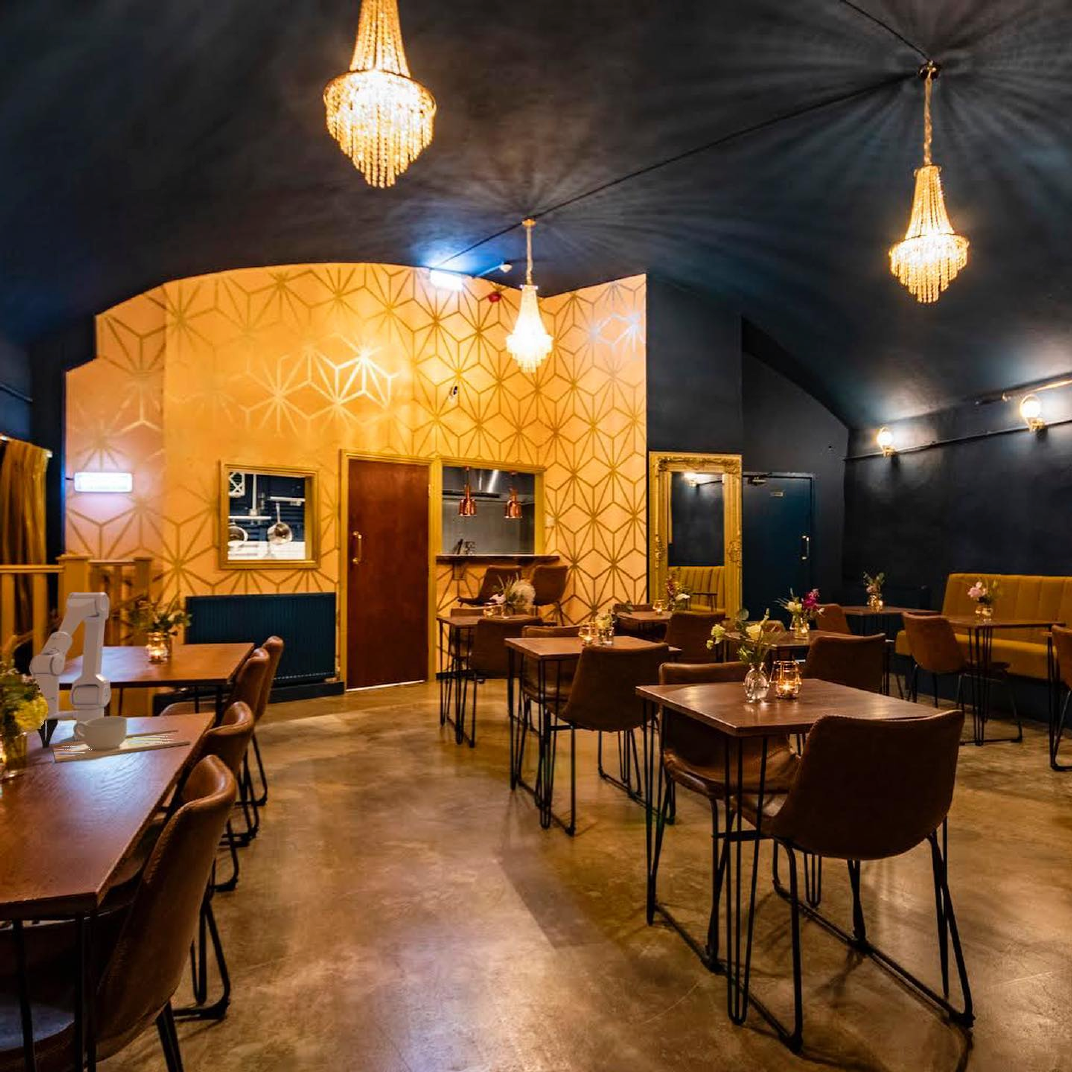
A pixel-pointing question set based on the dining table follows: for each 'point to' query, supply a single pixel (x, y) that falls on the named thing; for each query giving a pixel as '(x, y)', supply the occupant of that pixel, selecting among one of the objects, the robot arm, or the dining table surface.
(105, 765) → the dining table surface
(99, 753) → the beige flat rectangular board
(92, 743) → the teacup
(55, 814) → the dining table surface
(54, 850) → the dining table surface
